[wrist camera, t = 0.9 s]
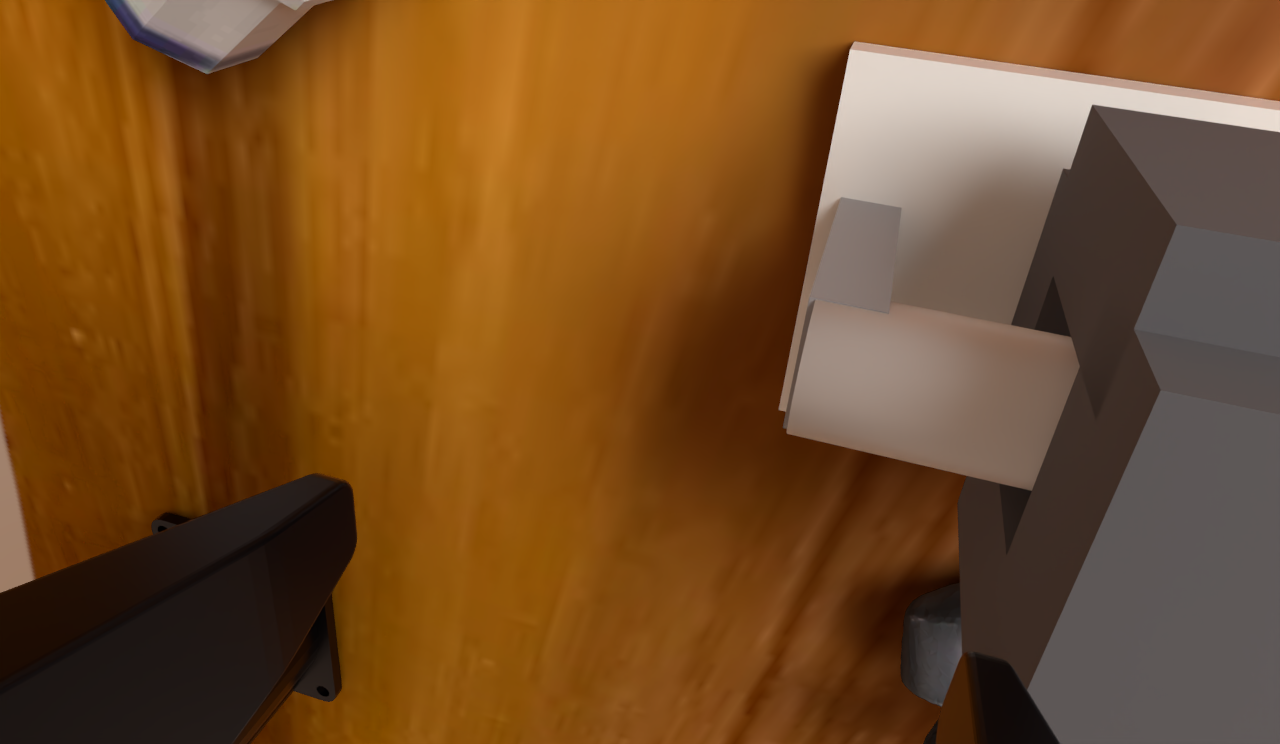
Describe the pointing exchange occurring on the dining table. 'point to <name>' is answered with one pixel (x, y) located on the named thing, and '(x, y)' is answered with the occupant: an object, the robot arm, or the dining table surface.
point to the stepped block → (1147, 448)
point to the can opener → (932, 646)
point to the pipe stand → (949, 256)
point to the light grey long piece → (209, 27)
